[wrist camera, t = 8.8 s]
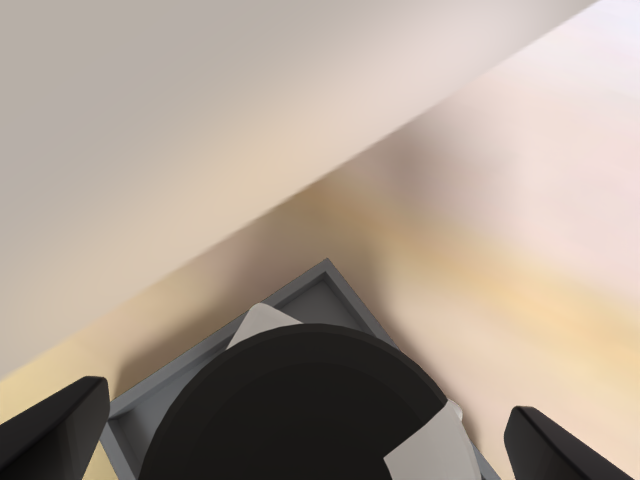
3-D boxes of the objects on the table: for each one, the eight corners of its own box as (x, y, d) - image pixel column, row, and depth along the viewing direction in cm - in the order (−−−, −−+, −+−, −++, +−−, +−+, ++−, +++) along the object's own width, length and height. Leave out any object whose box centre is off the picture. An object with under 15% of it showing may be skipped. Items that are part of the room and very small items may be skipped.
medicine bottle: (176, 499, 16) (-53, 660, 5) (265, 339, 19) (239, 225, 8) (336, 596, 15) (466, 1033, 4) (403, 412, 18) (583, 396, 7)
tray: (255, 712, 14) (251, 754, 12) (108, 417, 18) (88, 416, 16) (483, 478, 18) (506, 485, 16) (324, 271, 21) (327, 257, 20)
